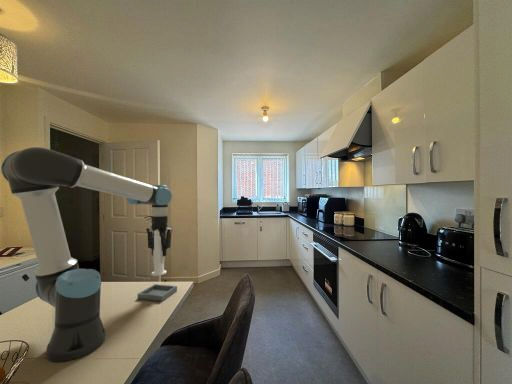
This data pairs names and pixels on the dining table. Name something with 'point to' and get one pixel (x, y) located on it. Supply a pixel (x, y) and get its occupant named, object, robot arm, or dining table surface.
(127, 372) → the dining table surface
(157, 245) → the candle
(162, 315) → the dining table surface
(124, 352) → the dining table surface
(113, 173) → the robot arm
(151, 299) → the tray
